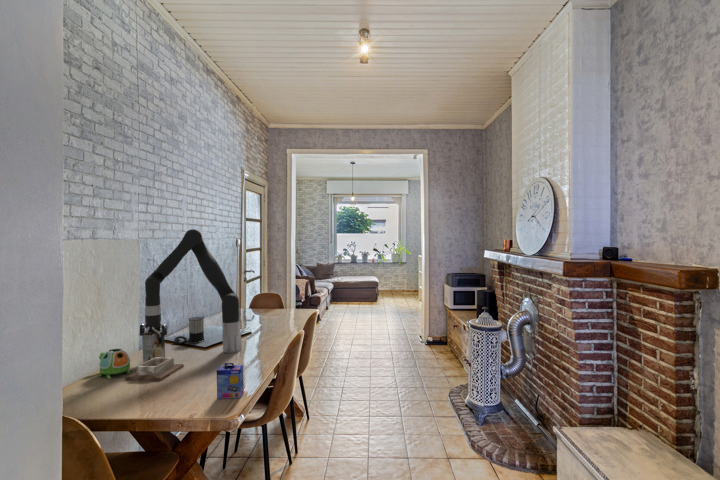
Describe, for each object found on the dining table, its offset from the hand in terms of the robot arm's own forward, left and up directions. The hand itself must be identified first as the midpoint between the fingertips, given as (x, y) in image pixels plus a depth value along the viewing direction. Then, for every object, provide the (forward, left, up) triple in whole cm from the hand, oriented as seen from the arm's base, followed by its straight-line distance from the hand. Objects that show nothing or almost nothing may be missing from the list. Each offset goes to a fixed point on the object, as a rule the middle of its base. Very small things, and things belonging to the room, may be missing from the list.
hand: (153, 343), depth 200 cm
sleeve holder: (-12, +16, -10) cm, 22 cm away
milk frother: (+1, -36, -10) cm, 37 cm away
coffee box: (0, 0, -10) cm, 10 cm away
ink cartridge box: (-61, +38, -10) cm, 73 cm away
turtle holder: (+9, +18, -10) cm, 22 cm away
